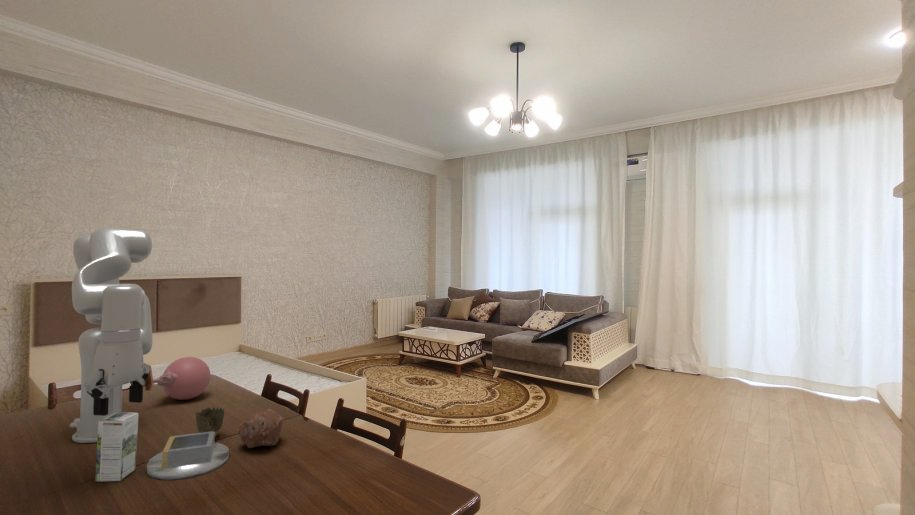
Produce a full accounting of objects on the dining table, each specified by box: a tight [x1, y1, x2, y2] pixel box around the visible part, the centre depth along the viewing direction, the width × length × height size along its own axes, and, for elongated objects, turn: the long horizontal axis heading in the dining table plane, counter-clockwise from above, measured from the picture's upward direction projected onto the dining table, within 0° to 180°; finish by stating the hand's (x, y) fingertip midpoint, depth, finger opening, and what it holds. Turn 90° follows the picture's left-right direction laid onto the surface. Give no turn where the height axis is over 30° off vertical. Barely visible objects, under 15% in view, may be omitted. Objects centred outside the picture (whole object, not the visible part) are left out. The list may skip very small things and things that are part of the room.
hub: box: [146, 431, 230, 481], centre depth 114 cm, size 18×18×6 cm
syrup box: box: [94, 411, 139, 482], centre depth 106 cm, size 6×6×14 cm
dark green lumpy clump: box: [195, 406, 226, 438], centre depth 129 cm, size 8×7×8 cm
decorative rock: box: [237, 408, 284, 449], centre depth 125 cm, size 13×11×10 cm
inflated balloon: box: [152, 356, 212, 401], centre depth 161 cm, size 15×20×15 cm
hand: (119, 408), depth 105 cm, fingers open, 9 cm apart
